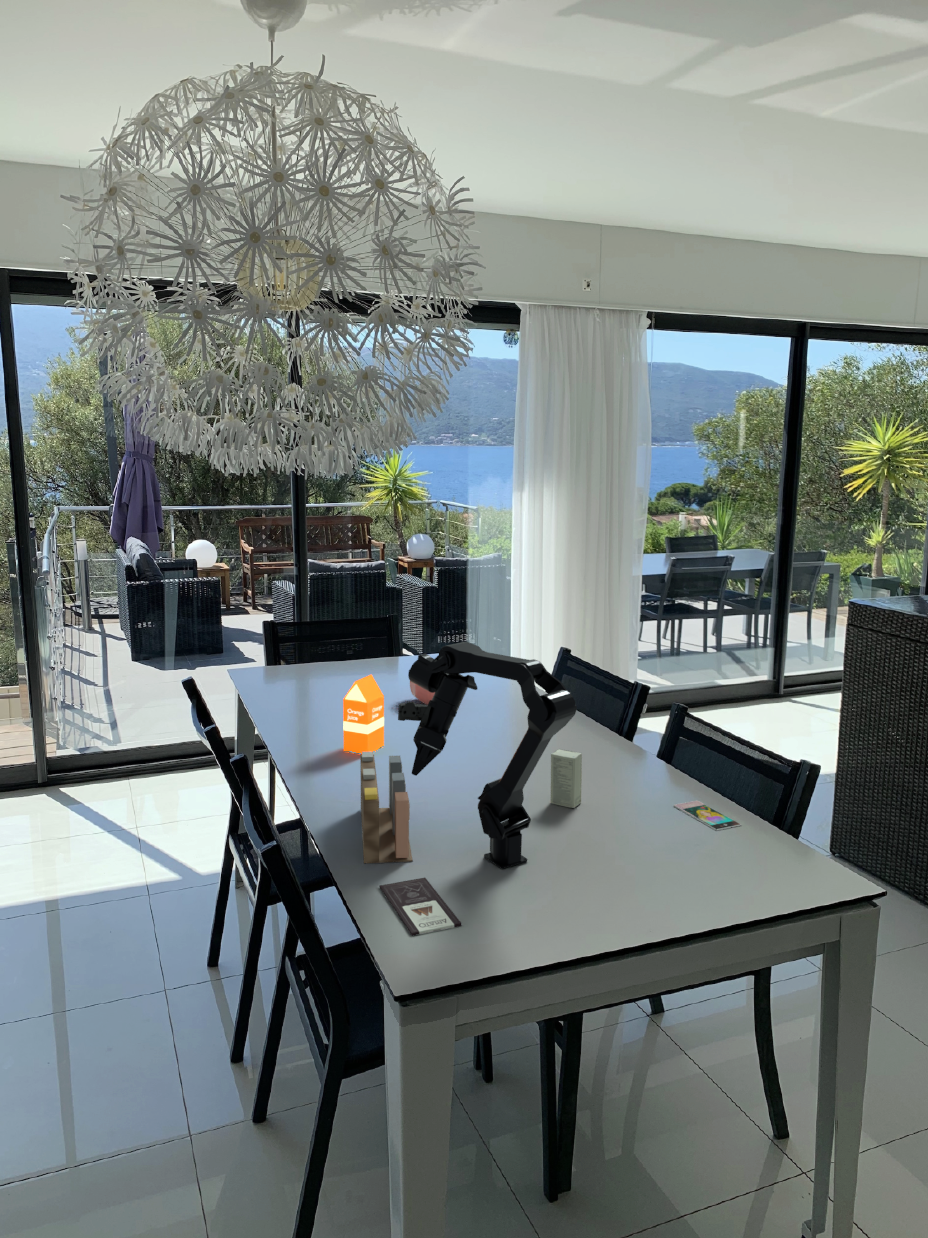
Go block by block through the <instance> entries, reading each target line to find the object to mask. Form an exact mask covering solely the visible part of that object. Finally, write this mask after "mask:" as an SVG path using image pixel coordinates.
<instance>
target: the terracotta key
mask: <svg viewBox="0 0 928 1238" xmlns="http://www.w3.org/2000/svg"><path fill="white" fill-rule="evenodd" d="M410 809H411V802H410V799H409V793H408V791H406V792H395V854H396V858H409V842H410V819H411V818H410V817H411V815H410V814H411V810H410Z"/></svg>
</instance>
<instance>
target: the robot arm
mask: <svg viewBox="0 0 928 1238" xmlns="http://www.w3.org/2000/svg"><path fill="white" fill-rule="evenodd" d="M468 673H470V674H472V673H475V674H476V673H477V674H481V675H487V676H492V677H497V678H501V679H506V680H510V681H511V680H512V681H516V682H517V684H518V685H519V687H520V690H521V696H522V701H523V702H524V704H525V706H526V708H528V715H527V726H528V727H527V730H526V732H525V734H524V735H523V737H522V740H520V743H519V744H518V746H517V749H516V751H515V753H514V754H513V756H512V758H511V760H510V761H509V763H508V765H507V767H506V768H505V771H504V773H503V774H502V776H501V777H500V778H498V779H496V780H495V779H494V780H493V781H490V782H488V783H485V785H484V787H483V790H482V793H481V794H480V795H479V796H478V797H477V800H479V801H478V803H477V810H478V815H479V819H480V823H481V828H482V832H483V834H485V835H487V836H488V838H489V852H488V853H484V854H483V858H485V859H486V860H487V861H489V862H491V864H493V865H495V866H496V867H498V868H500V869H506V868H510V867H514V866H517V865H520V864H524V863H527V862H528V858H527V857H526V856H523V855H522V848H523V847H522V841H523V840H522V839H523V834H522V832H521V831H522V830H524V829H528V828H529V826H530V824H531V822H532V819H531V817H530V815H529V813H528V812H527V810H526V809H525V808H524V806H523V803H524V799H525V798H524V788H525V786H526V784H527V783H528V781H529V779H530V777H531V775H532V773H533V772H534V770H535V769H536V767H537V765H538V763H539V761H540V760H541V757H542V756H543V754H544V752H545V750H546V749H547V747H548V745H549V743H550V742H551V740H552V738H553V737H554V736H555V735H556V734H557V733H558V732H560V731H561V730H562V729H563V728H564V727H566V726H567V725H568V723H569V722H570V721H572V718H574V716H575V715H576V713H577V709H578V708H577V707H578V706H577V704H576V701H575V698H574V696H573V695H572V694H571V692H569V691H568V689H567V688H566V686H565V685H564V683H563V682H562V681H561V680H560V679H558V678H557V677H555V675H554V674H551V673H550V672H549V671H548V670H547V668H545V666H544V665H543V663H542V662H541V661H540V660H538V659H535V658H534V659H527V658H522V657H521V658H520V657H517V656H516V657H515V656H509V655H506V654H501V653H500V654H499V653H493V652H488V651H485V650H483V649H482V647H480V646H479V645H476V644H473V643H472V642H469V641H462V642H461V641H460V642H457V643H452V644H448V645H443V646H442V647H441V649H440V650H439V651H438V655H437V656H436V657H431V656H430V655H429V654H427V653H420V654H418V655H417V659H416V660H415V661H414V662H413V663H412V665H411V666H410V668H409V670H408V676H407V677H408V680H409V682H410V681H411V682H412V683H414V684H416V685H418V686H420V687H421V688H423V689H425V690H427V691H429V692H431V693H434V692H435V694H434V696H433V698H432V700H430V701H429V704H428V705H426V704H420V703H415V701H406V702H400V703H399V704H398V711H397V713H398V714H397V715H398V716H397V720H398V721H415V722H416V721H418V722H419V724H418V726H417V729H416V731H415V733H414V736H413V742H414V745H415V746H416V753H415V757H414V761H413V764H412V765H413V766H412V769H411V774H412V775H413V776H417V775H419V774H420V773H421V772H422V771H423V770H424V769H425V768H426V767H427V766H428V765H430V763H431V762H433V760H434V759H435V758H437V756H438V755H440V754H441V753H442V751H444V748H445V745H446V743H447V736H448V733H449V731H450V728H451V727H452V724H453V722H454V719H455V718H456V716H457V713H458V710H459V709H460V705H461V704H462V701H463V700H464V697H465V695H466V693H467V692H468V689H471V690H474V691H477V690H478V686H477V683H476V680H475V677H474V676H472V675H470V674H468ZM463 674H467V675H463ZM536 684H537V685H538V686H539V687H540V688H541V689H542V690H544V691H545V692H547V693H545V694H543V695H542V694H541V695H540V694H539V692H538V691H537V688H536Z"/></svg>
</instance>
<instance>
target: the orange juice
mask: <svg viewBox="0 0 928 1238" xmlns="http://www.w3.org/2000/svg"><path fill="white" fill-rule="evenodd" d="M342 703H343V705H342V709H343V710H342V711H343V712H342V713H343V716H342V717H343V719H342V720H343V722H342V723H343V725H342V726H343V728H342V731H343V752H344V751H352V752H356V753H361V754H362V752H370V751H375V752H377V751H378V749H379V748H380V747H382V746H384V747H385V695H384V694H383V692H382V690H381V688H380V687H379V685H378V683H377V681H376V680H375V678H374V676H373V674H368V675H367V676H364V677H361V678H359V679H357V680H355V681H354V682H353V684H352V685H351V687H350V688H349V689H348V691H347V693H346V695H344V697H343V699H342ZM382 748H383V747H382ZM376 750H377V751H376ZM379 750H380V749H379Z"/></svg>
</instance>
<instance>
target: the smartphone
mask: <svg viewBox="0 0 928 1238" xmlns="http://www.w3.org/2000/svg"><path fill="white" fill-rule="evenodd" d="M673 808H675V809H677V810H678V811H680V812H682V813H684V814H686V815H687V816H689V817H691V818H693V819H695V820H696V821H698V822H700V823H701V824H704V825H705V826H707V827H709V828H710V827H711V829H712V830H714V831H716V832H717V831H719V832H720V831H723V829H724V830H728V829H732V828H731V827H733V828H735V827H734V826H738V827H742V824H741V823H740V822H738V821H736V820H734V819H732V817H731V818H730V817H728V816H727V815H725V814H723V813H721V811H720V812H719V811H718V810H716V809H714V808H713V807H710V806H708V805H707V804H705V803H703V802H701V801H700V800H693V801H686V802H681V803H677V804H673ZM727 828H728V829H727Z"/></svg>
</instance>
